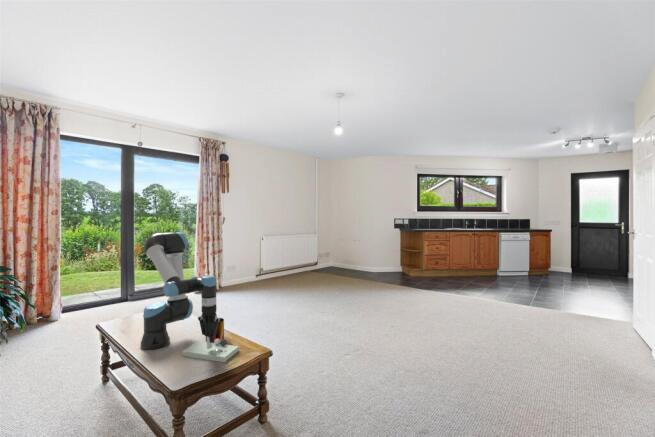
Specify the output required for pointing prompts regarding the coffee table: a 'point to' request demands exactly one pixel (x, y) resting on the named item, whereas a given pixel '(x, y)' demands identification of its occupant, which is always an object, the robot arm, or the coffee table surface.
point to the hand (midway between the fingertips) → (209, 347)
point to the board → (210, 351)
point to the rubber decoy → (223, 342)
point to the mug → (219, 331)
